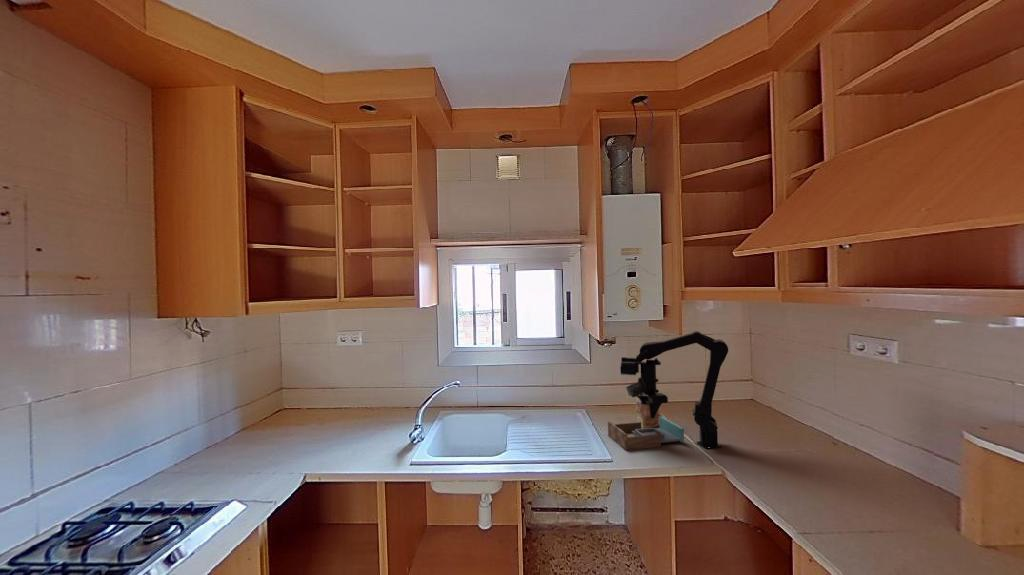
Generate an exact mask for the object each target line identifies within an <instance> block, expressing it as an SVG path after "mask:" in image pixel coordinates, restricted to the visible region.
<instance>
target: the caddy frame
mask: <svg viewBox="0 0 1024 575" xmlns="http://www.w3.org/2000/svg"><path fill="white" fill-rule="evenodd" d="M607 429H608V430H607V434H608V435H607V436H608V438H610V439H612V441H613V442H615V443H616V444H617V445H618V446H620V447H621V448H622V449H623V450H625V451H632V450H633V451H634V450H643V449H651V448H662V444H661V438H660V434H655V435H644V436H635V435H634V434H632V433H631V430H635V429H642V427H641V422H637V421H636V422H635V421H634V422H626V423H625V422H624V423H613V422H611V421H607Z"/></svg>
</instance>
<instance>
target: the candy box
mask: <svg viewBox="0 0 1024 575" xmlns="http://www.w3.org/2000/svg"><path fill="white" fill-rule="evenodd" d="M635 400H636V402H635V405H636V408H635V409H636V422H641V427H642V429H645V428H656V427H660V422H659V417H660V415H659V414H660V413H659V412H660V411H659V410H660V408H659V409H658V420H655V421H645V420H643V419H642V418H640V405H642V404H641V402H640V399H638V398H637V397H635Z"/></svg>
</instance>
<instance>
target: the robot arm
mask: <svg viewBox="0 0 1024 575" xmlns="http://www.w3.org/2000/svg"><path fill="white" fill-rule="evenodd" d="M694 344H698V345H700V346H701V347H703V348H704V349H706V350H709V364H708V368H707V373H706V376H705V381H704V385H703V389H702V393H701V397H700V399H699V401H696V400H695V401H694V408H693V409H692V416H694V417H693V418H694V422H695V423H696V425H697V426H699V441H696V442H697V443H698V444H697V443H696V444H697V445H699V444H700V445H699V446H701V445H702V446H704V447H706V448H708V447H718V448H722V447H721V446H722V445H721V444H719V441H718V438H719V437H718V429H719V427H718V423H717V420H716V419H715V418H714V417H713V416H712V414H713V413H712V412H713V411H712V410H713V409H712V408H713V407H712V404H713V398H714V395H715V390H716V388H717V383H718V379H719V375H720V371H721V367H722V365H723V363H724V361H726V360H725V359H726V357H727V355H728V354H729V346H728V344H727V343H726V341H724V340H723V339H715V338H712V337H710V336H708V335H706V334H703V333H701V332H700V331H697V330H696V331H692V332H691V333H688V334H684V335H680V336H677V337H672V338H670V339H666V340H662V341H649V342H648V341H647V342H644V343H643V344H642V345H641V346H640V348H639V354H638V355H636V356H635V357H626V356H622V357H621V362H620V367H619V368H620V375H621V376H636V375H637V374H640V377H638V378H637V382H634V383H632V384H630V385H627V386H626V388H625V389H626V390H627V394H628V396H629V397H630V396H631V397H632V398H636V397H637V398H638V399H640V402H641V404H642V405H643V404H649V408H650V415H651V418H654V417H655V415H656V413H657V411H658V409H659V410H660V407H661V406H662V404H667V403H669V397H668V396H667V395H666V394H664V393H662V392H660V391H659V389H657V383H658V382H659V379H658V378H657V366H661V364H662V362H661V360H659V359H658V358H657V357H659V355H661V354H663V353H665V352H668V351H671V350H675V349H680V348H684V347H687V346H689V345H694ZM654 358H655V359H654ZM644 360H645V361H644ZM702 446H701V447H702ZM704 447H703V448H704ZM706 448H705V449H706ZM708 449H709V448H708Z"/></svg>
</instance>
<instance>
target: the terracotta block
mask: <svg viewBox="0 0 1024 575" xmlns="http://www.w3.org/2000/svg"><path fill="white" fill-rule="evenodd" d="M640 418H642V419H643V420H645V421H655V420H658V411H657V413H656V415H655V417H654V418H651V415H650V408H649V404H643V405H640Z"/></svg>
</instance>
